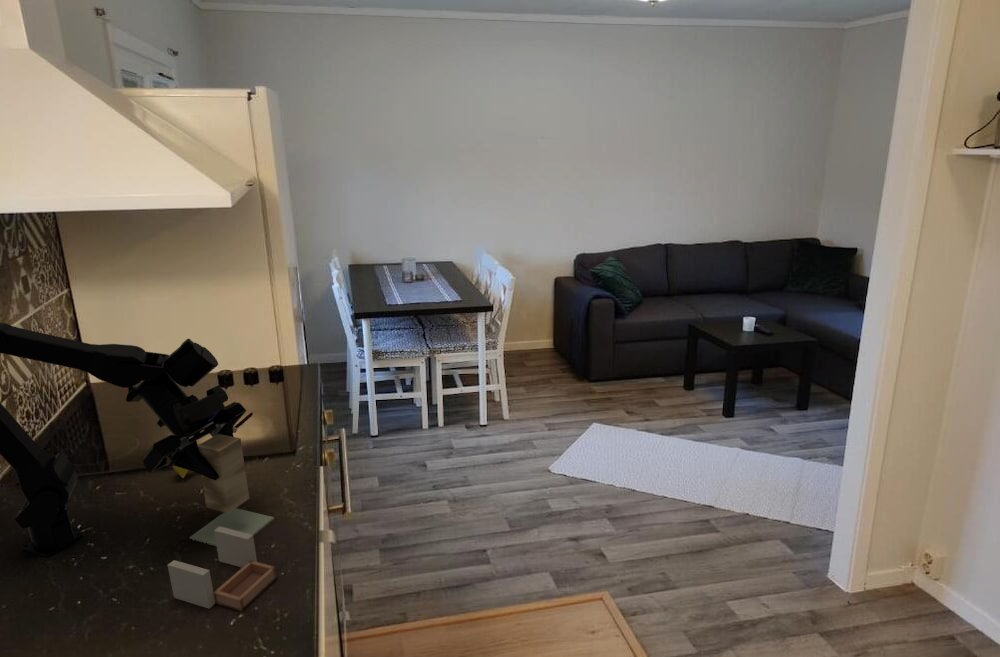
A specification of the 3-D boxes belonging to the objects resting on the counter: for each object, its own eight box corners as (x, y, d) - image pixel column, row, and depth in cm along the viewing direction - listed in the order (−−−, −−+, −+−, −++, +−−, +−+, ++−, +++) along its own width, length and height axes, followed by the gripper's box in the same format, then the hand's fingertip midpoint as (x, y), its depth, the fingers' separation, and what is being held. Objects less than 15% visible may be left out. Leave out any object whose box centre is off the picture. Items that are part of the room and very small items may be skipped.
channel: (174, 597, 96) (167, 564, 95) (224, 556, 106) (219, 526, 104) (209, 608, 94) (203, 575, 92) (257, 566, 103) (252, 534, 101)
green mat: (189, 539, 110) (189, 537, 110) (231, 508, 119) (231, 507, 119) (234, 551, 107) (234, 549, 107) (274, 519, 116) (273, 517, 116)
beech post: (206, 507, 110) (196, 446, 107) (227, 493, 115) (218, 433, 111) (228, 513, 108) (219, 451, 105) (249, 498, 113) (240, 438, 109)
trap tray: (215, 603, 95) (213, 592, 94) (252, 570, 102) (250, 560, 102) (241, 611, 93) (239, 600, 93) (277, 577, 100) (275, 567, 100)
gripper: (143, 398, 98) (208, 473, 97) (231, 360, 114) (287, 424, 114) (116, 436, 103) (178, 508, 102) (204, 394, 119) (258, 455, 119)
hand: (229, 471), depth 109 cm, fingers closed on beech post, 5 cm apart
